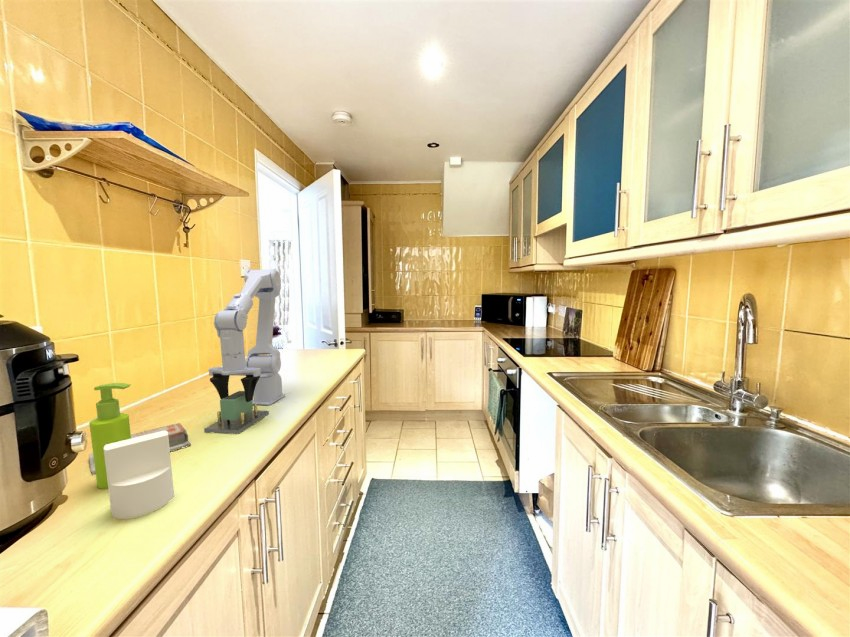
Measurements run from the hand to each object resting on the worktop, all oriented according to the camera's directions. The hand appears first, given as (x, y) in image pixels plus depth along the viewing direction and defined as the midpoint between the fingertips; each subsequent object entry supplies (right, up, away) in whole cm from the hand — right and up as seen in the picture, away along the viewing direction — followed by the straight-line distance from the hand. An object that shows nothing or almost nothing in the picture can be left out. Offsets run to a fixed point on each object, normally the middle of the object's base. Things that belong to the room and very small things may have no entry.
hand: (237, 400), depth 101 cm
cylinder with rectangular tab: (+2, -11, -36) cm, 37 cm away
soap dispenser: (-9, -10, -28) cm, 31 cm away
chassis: (0, -7, +1) cm, 7 cm away
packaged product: (-14, -9, -16) cm, 23 cm away
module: (0, -4, 0) cm, 4 cm away
